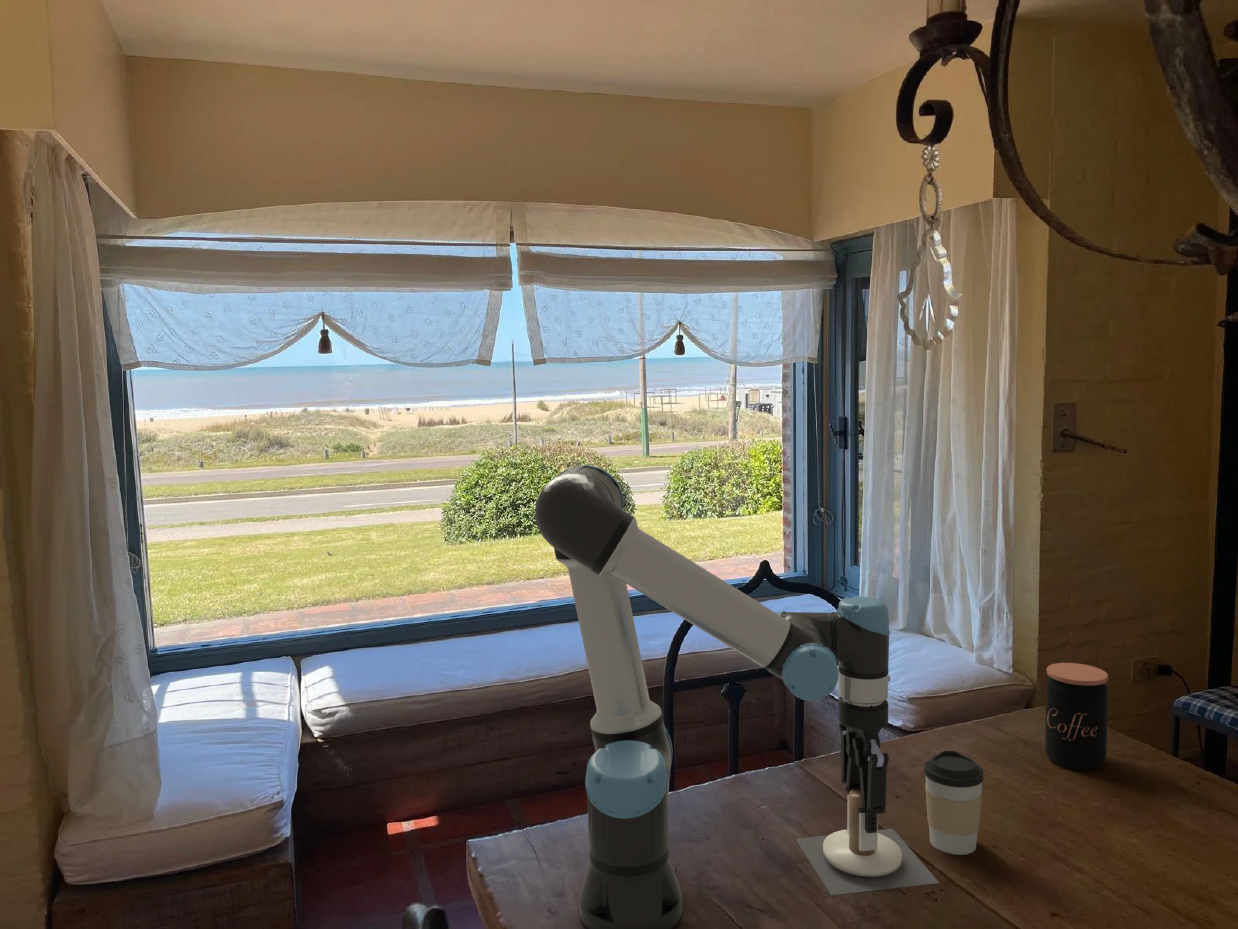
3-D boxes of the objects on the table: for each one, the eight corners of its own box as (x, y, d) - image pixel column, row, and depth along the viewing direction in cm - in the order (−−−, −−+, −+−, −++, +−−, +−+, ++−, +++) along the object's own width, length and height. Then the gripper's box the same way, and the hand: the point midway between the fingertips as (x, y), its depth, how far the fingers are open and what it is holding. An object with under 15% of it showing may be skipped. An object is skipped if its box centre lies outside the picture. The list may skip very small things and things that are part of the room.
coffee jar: (1035, 760, 172) (1037, 672, 170) (1057, 744, 179) (1059, 659, 177) (1094, 778, 164) (1096, 685, 162) (1114, 759, 171) (1116, 670, 170)
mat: (831, 900, 129) (831, 895, 129) (795, 843, 145) (795, 838, 145) (939, 888, 131) (939, 883, 131) (892, 833, 147) (892, 828, 147)
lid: (840, 880, 131) (840, 817, 130) (812, 838, 143) (812, 780, 142) (915, 872, 133) (916, 810, 132) (881, 832, 145) (882, 774, 144)
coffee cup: (988, 865, 137) (989, 773, 135) (927, 860, 139) (928, 770, 137) (976, 835, 146) (977, 749, 144) (919, 831, 147) (920, 746, 146)
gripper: (911, 717, 127) (909, 869, 130) (863, 677, 144) (862, 812, 147) (862, 721, 126) (861, 874, 129) (820, 680, 143) (819, 816, 146)
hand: (862, 841), depth 138 cm, fingers closed on lid, 4 cm apart
